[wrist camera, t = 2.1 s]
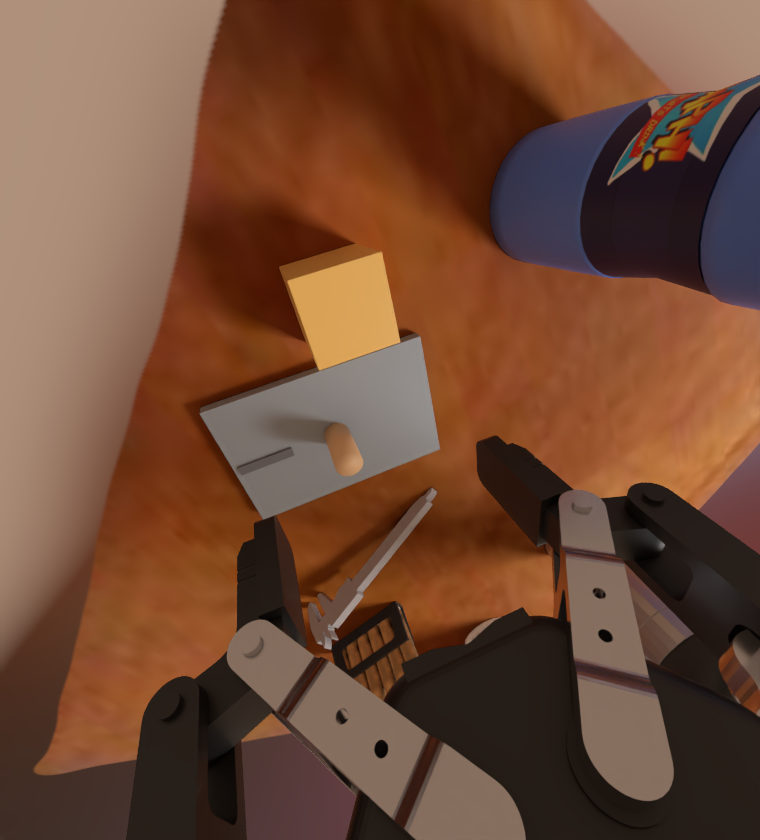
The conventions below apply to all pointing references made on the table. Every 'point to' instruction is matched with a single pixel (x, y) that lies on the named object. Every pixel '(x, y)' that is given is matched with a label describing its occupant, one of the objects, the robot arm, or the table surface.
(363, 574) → the caliper
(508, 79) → the table surface
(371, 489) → the table surface
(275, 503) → the post board
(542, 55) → the table surface
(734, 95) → the water bottle
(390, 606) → the ammunition clip
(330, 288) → the mustard yellow cube
